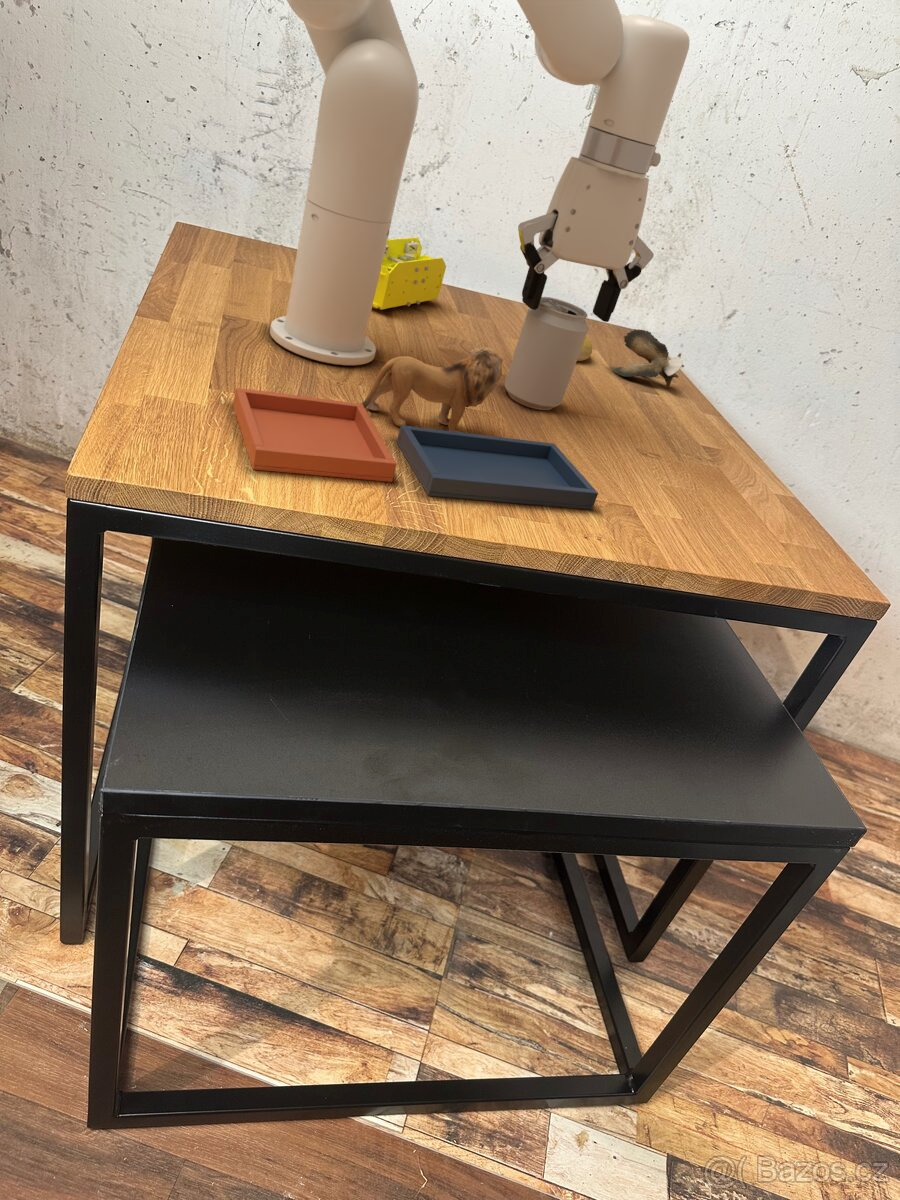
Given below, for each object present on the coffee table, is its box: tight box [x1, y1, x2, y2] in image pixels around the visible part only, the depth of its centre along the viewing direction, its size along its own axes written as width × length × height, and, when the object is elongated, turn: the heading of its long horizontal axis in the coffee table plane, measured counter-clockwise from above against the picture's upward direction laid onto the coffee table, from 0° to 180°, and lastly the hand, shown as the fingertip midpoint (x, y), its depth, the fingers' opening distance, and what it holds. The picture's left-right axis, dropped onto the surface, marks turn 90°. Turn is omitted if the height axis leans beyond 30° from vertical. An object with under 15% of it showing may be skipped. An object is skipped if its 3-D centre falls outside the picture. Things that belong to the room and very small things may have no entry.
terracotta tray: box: [232, 387, 397, 483], centre depth 80 cm, size 13×13×2 cm
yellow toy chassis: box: [372, 237, 447, 311], centre depth 125 cm, size 16×6×8 cm, turn 150°
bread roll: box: [577, 336, 593, 362], centre depth 129 cm, size 8×9×4 cm
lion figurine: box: [360, 346, 504, 432], centre depth 90 cm, size 15×5×9 cm, turn 110°
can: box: [504, 296, 589, 411], centre depth 105 cm, size 8×8×12 cm
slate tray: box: [396, 425, 599, 511], centre depth 85 cm, size 11×18×2 cm, turn 109°
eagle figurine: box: [612, 328, 685, 389], centre depth 128 cm, size 8×7×9 cm
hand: (565, 311), depth 102 cm, fingers open, 9 cm apart
